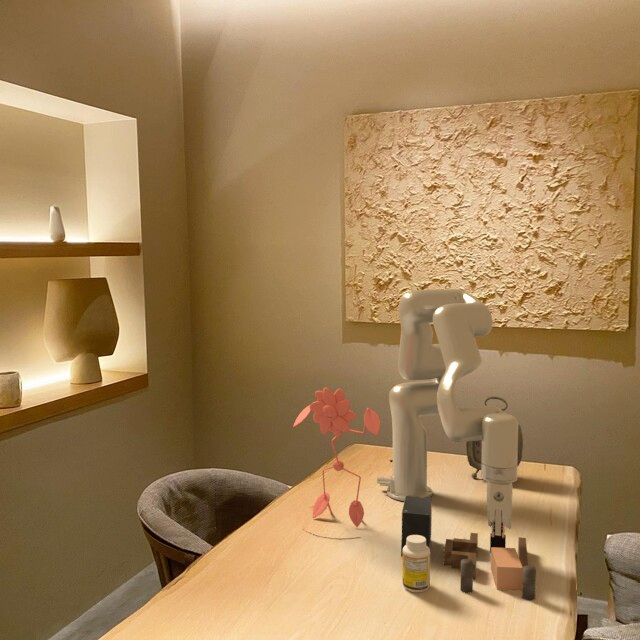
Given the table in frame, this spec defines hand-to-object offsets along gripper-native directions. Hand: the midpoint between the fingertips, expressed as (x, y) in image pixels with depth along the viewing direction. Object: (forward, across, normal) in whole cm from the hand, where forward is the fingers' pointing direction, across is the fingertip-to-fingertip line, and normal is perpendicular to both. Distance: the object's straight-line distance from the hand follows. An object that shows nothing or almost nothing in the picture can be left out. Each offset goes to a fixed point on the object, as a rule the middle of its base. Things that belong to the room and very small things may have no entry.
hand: (497, 552), depth 150 cm
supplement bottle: (+2, -15, +16) cm, 22 cm away
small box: (+3, +3, +18) cm, 18 cm away
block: (+2, -7, -2) cm, 8 cm away
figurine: (+2, +11, +40) cm, 42 cm away
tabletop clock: (+2, +55, +1) cm, 55 cm away
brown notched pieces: (+2, -4, +2) cm, 5 cm away
